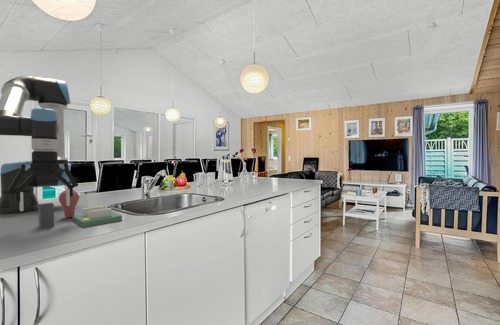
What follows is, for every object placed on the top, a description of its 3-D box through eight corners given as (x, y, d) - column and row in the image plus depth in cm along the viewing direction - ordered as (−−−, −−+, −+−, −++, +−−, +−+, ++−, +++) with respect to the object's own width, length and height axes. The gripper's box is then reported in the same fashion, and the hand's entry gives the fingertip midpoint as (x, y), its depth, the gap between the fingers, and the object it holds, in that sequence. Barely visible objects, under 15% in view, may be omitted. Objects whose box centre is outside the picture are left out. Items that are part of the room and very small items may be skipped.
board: (72, 220, 105) (72, 208, 105) (109, 214, 115) (109, 203, 115) (82, 227, 95) (82, 214, 95) (121, 220, 106) (121, 208, 105)
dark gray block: (38, 226, 96) (37, 203, 96) (51, 224, 99) (51, 202, 99) (40, 228, 93) (40, 205, 93) (54, 226, 96) (53, 204, 96)
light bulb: (69, 220, 106) (68, 191, 105) (54, 219, 107) (54, 190, 107) (83, 216, 112) (83, 188, 112) (69, 215, 114) (69, 188, 113)
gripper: (-2, 150, 83) (-1, 214, 84) (86, 151, 102) (87, 204, 102) (-3, 150, 89) (-2, 211, 89) (81, 151, 107) (81, 202, 107)
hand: (45, 207), depth 96 cm, fingers open, 13 cm apart
